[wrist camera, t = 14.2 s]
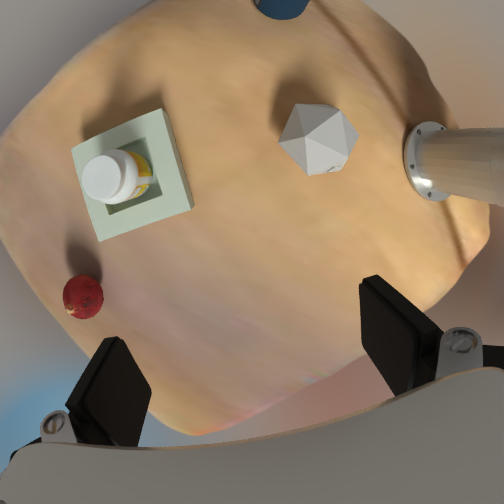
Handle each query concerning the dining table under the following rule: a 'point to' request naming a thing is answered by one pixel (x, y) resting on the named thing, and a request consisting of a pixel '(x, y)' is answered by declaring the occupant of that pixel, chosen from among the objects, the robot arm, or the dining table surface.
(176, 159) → the sage block
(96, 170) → the supplement bottle
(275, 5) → the soda can
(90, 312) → the onion
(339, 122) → the die
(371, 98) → the dining table surface
